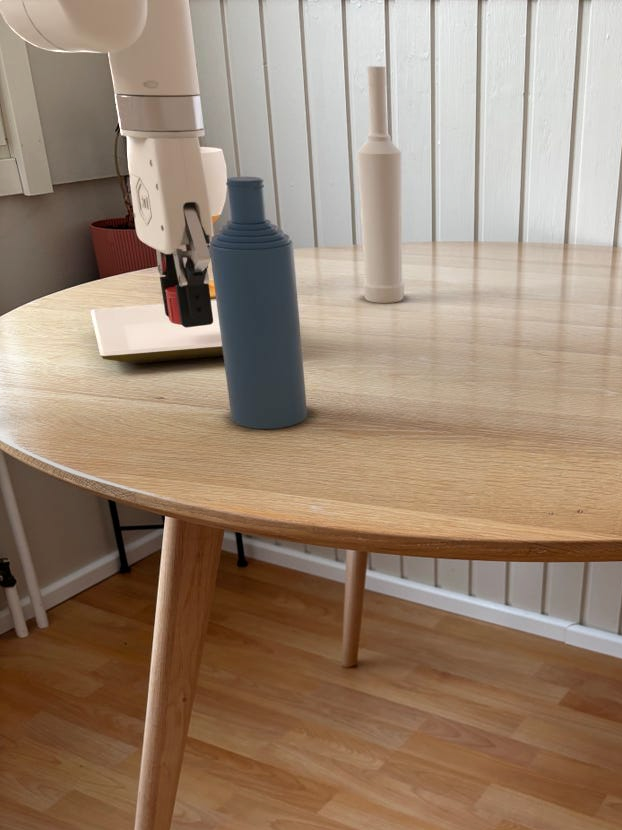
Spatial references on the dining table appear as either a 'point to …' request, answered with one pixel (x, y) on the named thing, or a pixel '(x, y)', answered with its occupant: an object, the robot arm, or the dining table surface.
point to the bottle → (380, 200)
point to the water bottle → (258, 313)
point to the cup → (215, 186)
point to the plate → (152, 335)
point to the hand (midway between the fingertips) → (189, 318)
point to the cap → (172, 305)
